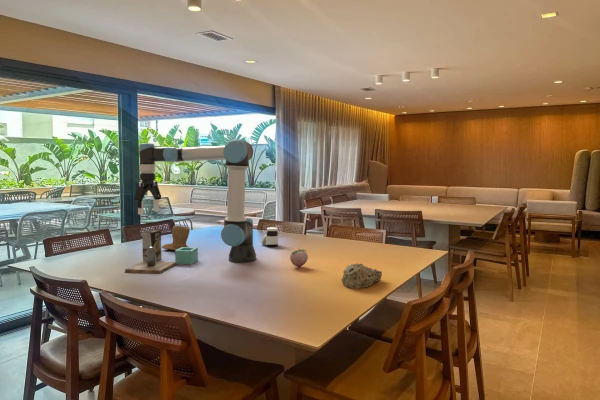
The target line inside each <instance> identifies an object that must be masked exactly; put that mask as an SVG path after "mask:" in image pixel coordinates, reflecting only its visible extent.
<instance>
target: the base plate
mask: <svg viewBox="0 0 600 400" xmlns="http://www.w3.org/2000/svg"><path fill="white" fill-rule="evenodd" d="M176 265H177V264H176V262H175V261H164V260H163V261H161V260H160V261H159V260H157V261H156V265H155V266H147V261H143V260H142V261H140V262H138V263H136V264H134V265H131V266H129V267H127V268H125V269H124V272H125V273H134V274H135V273H138V274H139V273H140V274H163V273H164V272H165V271H168V270H169V269H171V268H172V267H173V268H174V267H175V266H176Z"/></svg>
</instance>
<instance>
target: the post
mask: <svg viewBox="0 0 600 400" xmlns="http://www.w3.org/2000/svg"><path fill="white" fill-rule="evenodd" d="M155 265H156V258H155V248H154V247H149V248H148V249H147V266H155Z"/></svg>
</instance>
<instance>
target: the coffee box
mask: <svg viewBox="0 0 600 400" xmlns="http://www.w3.org/2000/svg"><path fill="white" fill-rule="evenodd" d="M141 236H142V237H141V238H142V261H147V249H148V248H149V247H154V248H155V258H156V261H159V260H160V261H161V260H162V259H163V257H162V230H161V229H160V230H159V229H158V230H157V229H154V230H153V229H151V230H146V231H142V232H141Z"/></svg>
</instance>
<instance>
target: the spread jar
mask: <svg viewBox="0 0 600 400" xmlns="http://www.w3.org/2000/svg"><path fill="white" fill-rule="evenodd" d="M260 243H261V245H263V246H265V245H266V247H268V248H275V247H278V246H279V230H278V227H275V226H273V227H272V226H271V227H267V228H266V234H264V235H263V236H262V237H261V240H260Z"/></svg>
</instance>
